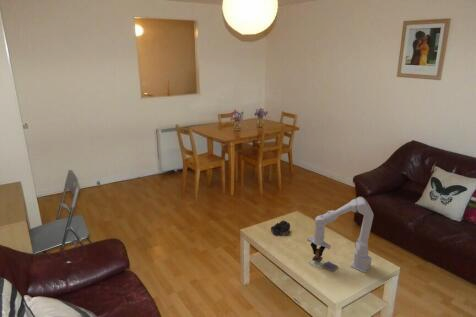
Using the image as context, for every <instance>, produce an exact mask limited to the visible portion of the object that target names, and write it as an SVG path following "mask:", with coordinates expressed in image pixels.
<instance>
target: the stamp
mask: <svg viewBox="0 0 476 317" xmlns="http://www.w3.org/2000/svg"><path fill="white" fill-rule="evenodd" d="M319 253H320V251H319V247H317V249H316V250H315V255H314V256H313V257H312V259H313V261H316V262H318V263H320V262H321V260H323V259H324V258H323V256H321V257H319Z"/></svg>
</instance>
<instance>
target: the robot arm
mask: <svg viewBox="0 0 476 317" xmlns="http://www.w3.org/2000/svg"><path fill="white" fill-rule="evenodd" d="M348 212H354V213H359V214H361V215H363V218H362V223H361V228H360V232H359V237H357V240H356V241H355V243H354V247H355V250H354V256H353V263H352V264H350V267H351V268H354V269H355V270H357V271H360V272H362V273H364V274H366V273H367V272H368V271H369V270H370V269H371V268H372V257H371V256H369V253H370V252H369V238H370V234H371V229H372V225H373V220H374V212H373V210H372V207H371V206H370V204H369V203H368V201H367V199H365V198H364V197H363V196H358V197H356V198H355V199H354V198H353V199H352V200H350V201H349V202H348V203H345V204H344V205H342V206H341V207H339V208H337V209H336V210H332V209H331V210H328V211H327V212H326V213H324V214H320V215H317V216H316V217H315V218H314V222H315V223H314V224H315V225H314V235H313V237H310V236H308V237H306V239H307V240H306V241H307V242H309V243H310V247H311V249H312V253H313V255H314V256H315V250H316V249H317V248H318V249H319V251H320V253H319V257H323V253H324V251H325V249H327V250H330V249H331V247H332V246H331V244H329V243H328V242H326V241H325V231H326V230H325V228H326V226H327V225H328V224H329V223H331V222H334V221H336V220H337V219H338V217H340V216H341V215H344V214H346V213H348ZM318 246H319V247H318Z"/></svg>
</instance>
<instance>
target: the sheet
mask: <svg viewBox="0 0 476 317" xmlns="http://www.w3.org/2000/svg"><path fill="white" fill-rule="evenodd" d="M327 262H328V261H325V260H323V259H322V260H321V262H320V263H318V262H316V261H313V258H311V259H310V260H309V261H307V262H306V263H307V264H308V265H310V266H313V267H314V268H316V269H318V270H321V269H322V268H324V267H323V265H324V264H325V263H327Z"/></svg>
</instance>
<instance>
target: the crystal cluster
mask: <svg viewBox="0 0 476 317" xmlns="http://www.w3.org/2000/svg"><path fill="white" fill-rule="evenodd" d="M290 229H291V224H290V223H289V222H288V221H287V220H284V219H283V220H281V221H280V222H277V223H275V224H274V225H272V226H271V227H270V231H271V232H272V234H273V235H276V236H279V237H280V236H281V237H285V236H287V235H288V233H289V231H290Z"/></svg>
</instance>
